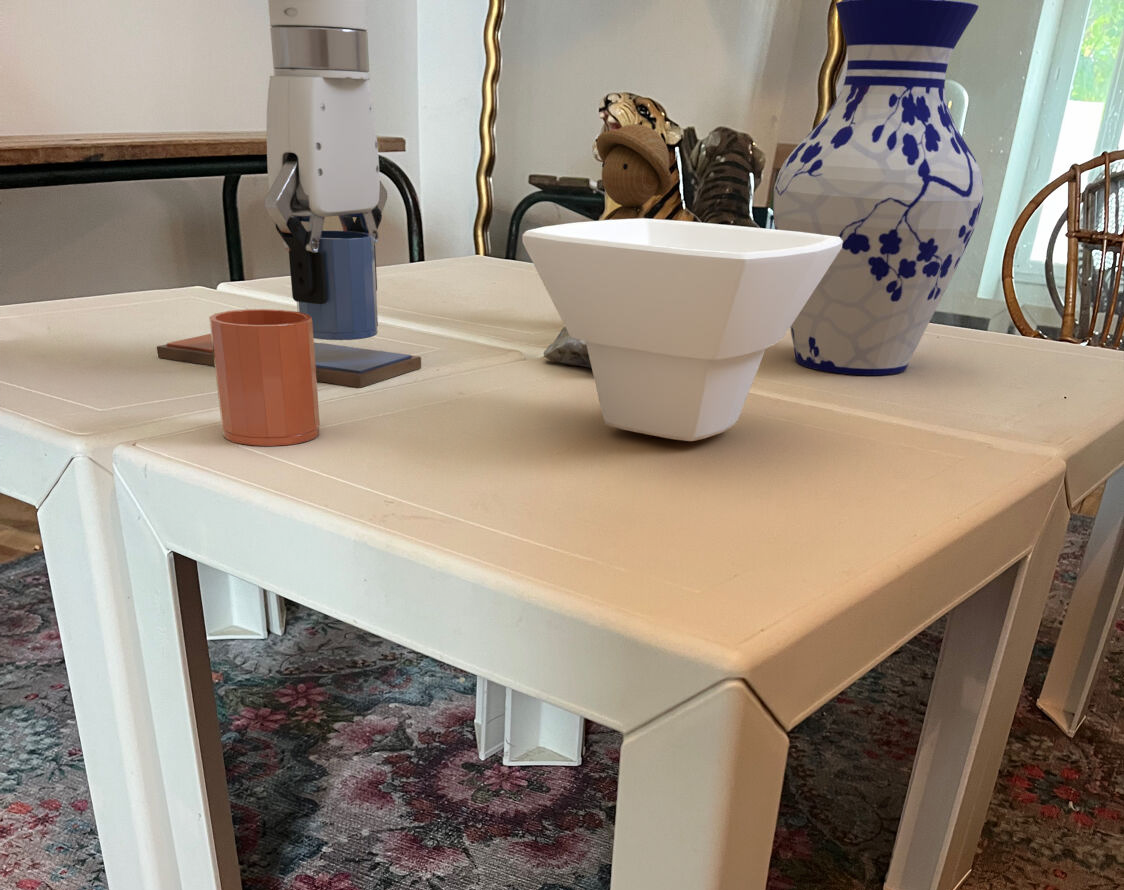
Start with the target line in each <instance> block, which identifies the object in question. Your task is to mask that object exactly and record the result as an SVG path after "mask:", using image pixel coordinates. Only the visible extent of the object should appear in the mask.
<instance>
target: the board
mask: <svg viewBox="0 0 1124 890" xmlns="http://www.w3.org/2000/svg"><path fill="white" fill-rule="evenodd" d="M314 352H315V366H316V380H317V382H319V383H325V384H333V385H340V386H346V387H353V388H358V389H359V388H364V387H366V386H370V385H373V384H376V383H378V382H382V381H385V380H388V379H391V378H394V377H397V376H400V375H403V374H404V375H405V374H407V373H410V372H412V371H415V370H418V369H421V368H422V357H421V356H419V355H412V354H408V353H407V354H406V353H399V352H391V351H383V350H377V349H369V348H362V347H354V346H346V345H339V344H332V343H326V342H325V343H324V342H315V341H314ZM156 353H157V358H159V359H165V360H171V361H179V362H183V363H184V362H185V363H192V364H199V365H206V366H212V367H215V364H214V355H213V347H212V338H211V333H208V334H202V335H199V336H194V337H190V338H189V337H188V338H185V339H180V340H175V341H170V342H167V343H166V344H161V345H157V346H156Z"/></svg>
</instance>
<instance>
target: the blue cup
mask: <svg viewBox="0 0 1124 890" xmlns="http://www.w3.org/2000/svg"><path fill="white" fill-rule="evenodd" d="M374 245H375V244H374V235H372V234H370V233H364V232H355V231H343V230H339V229H338V230H337V229H336V230H335V229H332V230H331V229H327V230H326V229H322V234H321V239H320V244H319V249H318V251H317V252H324V257H325V269H326V284H327V302H326V303H325V304H313V303H305V302H297V301H296V312H301V313H304V314H308V315H310V316H311V318H312V324H313V338H314V339H316V340H326V341H354V340H364V339H369V338H372V337H375V336H377V335H378V333H379V332H378V327H379V318H378V317H379V316H378V295H377V291H376V274H377V271H376V272H375V253H376V250H375V251H374Z"/></svg>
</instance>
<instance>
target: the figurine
mask: <svg viewBox="0 0 1124 890" xmlns="http://www.w3.org/2000/svg"><path fill="white" fill-rule="evenodd" d="M595 146H596V150H597V154H598V157H599V158H600V160H601V161H602V164H601V183H602V186H603V189H604V190H605V193H606V195H607V197H609V199H611V201H613V202H614V203H615V204H617V205H620V206H618V207H616V208H614V209H613V210H612V211H610V212H609V213H608V214H607V215H606V216H605V217H604V218H603V220H618V219H641V218H645V208H644V206H643V205H644V204H645V203H647V202H648V201H650V200H651V199H652V198H653V197H658V196H664V195H667V193H669V192H670V191H671V189H672V187H673V178H672V174H671V171H670V153H669V149H668V146H667V144H666V142H665V140H664V139H663V138H662V136H661V135H660V134H659V133H658V132H657V131H656V130H654V129H653V128H651V127H650V126H648V125H644V124H639V123H638V124H637V123H631V124H627V125H623V126H621V127H620V128H618V129H616V130H605V131H603V132H601V133H600V134H598V136H597V139H596V143H595Z"/></svg>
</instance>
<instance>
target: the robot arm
mask: <svg viewBox="0 0 1124 890" xmlns="http://www.w3.org/2000/svg"><path fill="white" fill-rule="evenodd" d="M267 3H268V14H269V27H270V41H271V42H270V44H271V55H272V67H273V75H269V81H268V89H267V101H266V157H267V158H266V162H267V179H268V181H267V182H268V183H267V184H268V193H267V195H266V197H265V199H264V201H263V202H264V203H263V205H264V209H265V210H266V211H267V213H268V216H270V218H271V219H272V221H273V223H274V224H275V229H276V231H277V233H278V234H279V236H280V237H281V238H282V245H283V246H282V247H283V249H284V250H285V251H288V260H289V273H290V283H291V295H292V297H291V298H292V299H293V301H294V302H296V303H297V302H305V303H313V304H325V303H326V302H327V284H326V269H325V257H324V252H317V251H318V249H319V244H320V239H321V234H322V230H324V229H323V228H324V223H325V218H328V217H337V216H338V219H339V223H340V225H341V228H342V231H355V232H364V233H370V234H372V235H374V251H375V272H376V292H378V278H377V276H378V275H377V255H376V244H378V241H379V232H378V229H379V226H380V225H381V222H382V219H383V218H382V217H383V216H382V214H383V211H384V208H385V205H386V203H387V201H388V191H387V189H386V187H385V186H384V184H383V183H382V181H381V180H380V179H381V178H380V160H379V159H380V157H379V156H380V155H379V145H378V136H377V126H376V125H377V124H376V119H375V110H374V105H373V98H372V94H371V93H372V92H371V87H370V81H371V80H370V78H371V77H370V57H369V56H370V55H369V35H368V33H369V32H367V31H368V20H367V17H368V13H367V12H368V11H367V0H267ZM354 218H355V220H354ZM302 222H304V223H306V222H307V223H308V226H307V229H306V227H305V226H304V224H303V223H302Z"/></svg>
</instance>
